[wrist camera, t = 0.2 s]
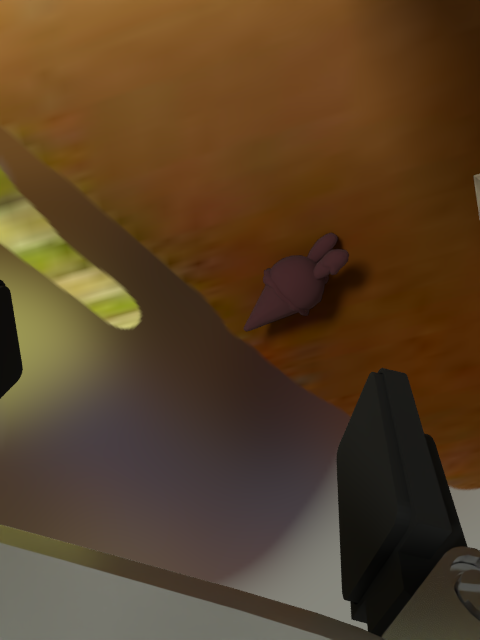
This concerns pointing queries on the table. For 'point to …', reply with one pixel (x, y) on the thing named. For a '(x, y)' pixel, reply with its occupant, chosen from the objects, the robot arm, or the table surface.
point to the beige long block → (477, 190)
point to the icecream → (297, 283)
